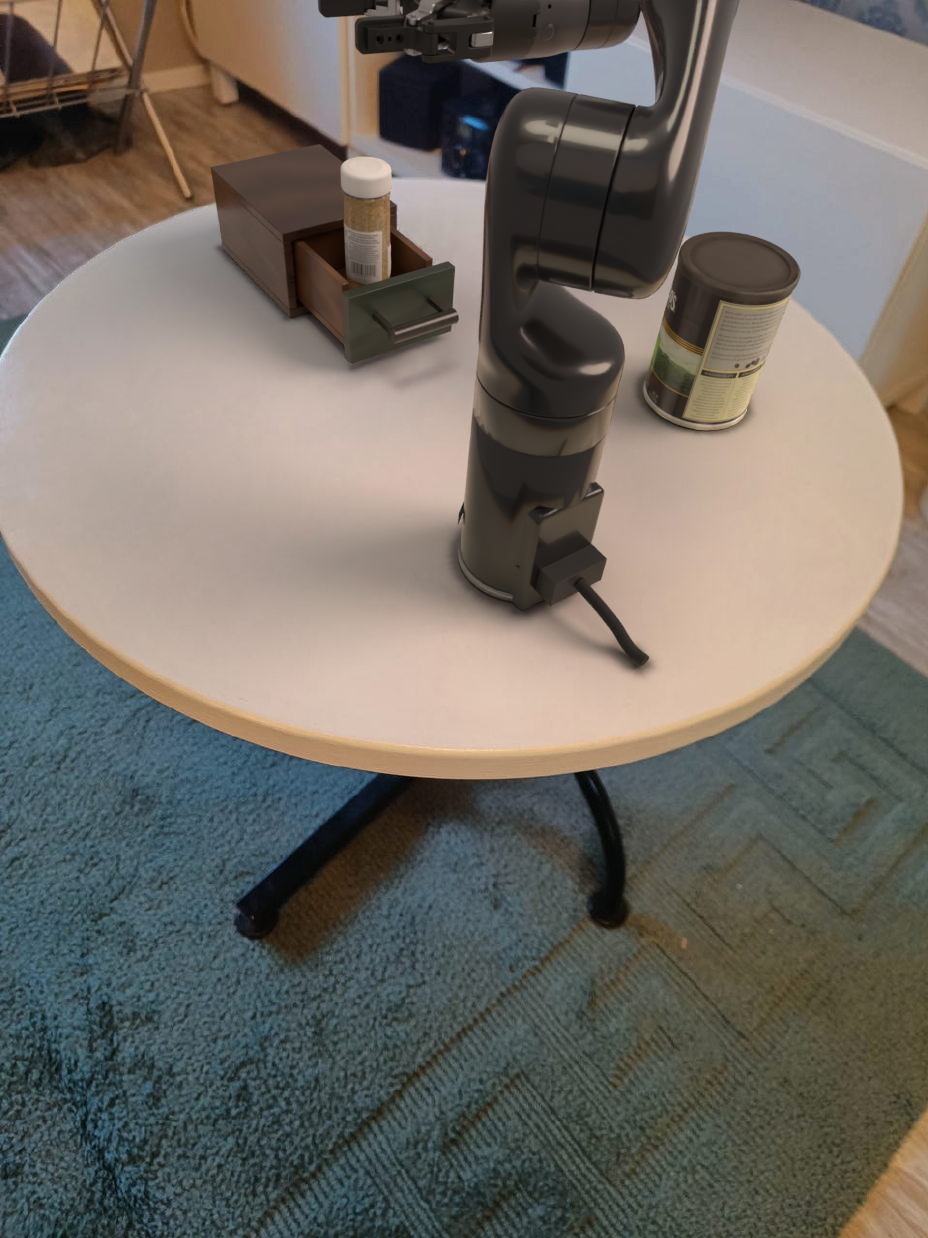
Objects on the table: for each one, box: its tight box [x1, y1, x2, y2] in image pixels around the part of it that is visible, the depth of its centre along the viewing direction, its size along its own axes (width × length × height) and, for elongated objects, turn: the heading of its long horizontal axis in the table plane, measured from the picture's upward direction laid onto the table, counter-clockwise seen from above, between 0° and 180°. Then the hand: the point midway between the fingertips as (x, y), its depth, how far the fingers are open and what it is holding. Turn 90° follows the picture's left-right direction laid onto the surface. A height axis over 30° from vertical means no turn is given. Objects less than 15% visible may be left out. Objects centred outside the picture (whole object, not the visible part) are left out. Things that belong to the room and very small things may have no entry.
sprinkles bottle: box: [341, 156, 393, 290], centre depth 82 cm, size 5×5×14 cm
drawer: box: [291, 224, 460, 365], centre depth 85 cm, size 19×12×7 cm, turn 35°
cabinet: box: [210, 143, 398, 319], centre depth 91 cm, size 16×13×9 cm
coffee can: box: [642, 231, 802, 431], centre depth 79 cm, size 10×10×14 cm
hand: (337, 17), depth 67 cm, fingers open, 8 cm apart
